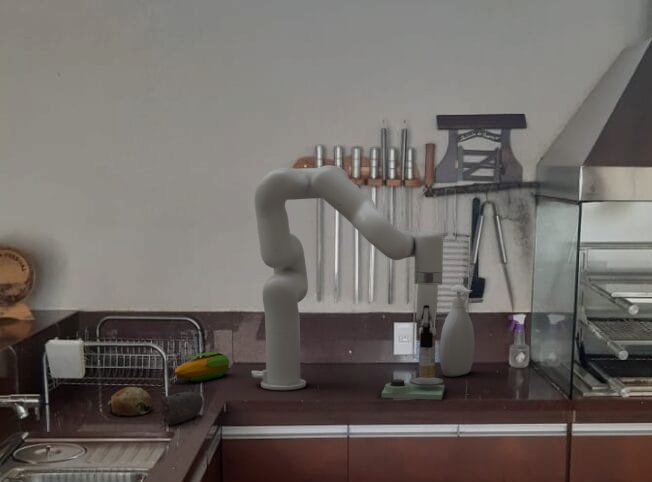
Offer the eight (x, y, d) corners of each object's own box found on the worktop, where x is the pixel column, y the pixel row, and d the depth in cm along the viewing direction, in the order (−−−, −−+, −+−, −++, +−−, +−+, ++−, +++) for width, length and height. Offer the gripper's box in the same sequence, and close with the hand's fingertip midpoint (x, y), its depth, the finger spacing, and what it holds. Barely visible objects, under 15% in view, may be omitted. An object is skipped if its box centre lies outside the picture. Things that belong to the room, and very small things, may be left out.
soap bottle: (453, 380, 261) (455, 288, 256) (432, 376, 267) (434, 285, 262) (484, 373, 272) (486, 284, 267) (463, 369, 277) (465, 282, 272)
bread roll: (129, 432, 216) (139, 404, 214) (96, 410, 219) (107, 382, 217) (154, 422, 226) (164, 395, 223) (123, 401, 228) (133, 375, 226)
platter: (408, 385, 241) (408, 383, 240) (412, 378, 249) (412, 376, 249) (442, 386, 240) (442, 384, 239) (444, 379, 248) (444, 377, 248)
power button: (390, 387, 239) (390, 381, 239) (391, 384, 243) (391, 379, 243) (403, 387, 239) (403, 382, 239) (405, 385, 242) (405, 379, 242)
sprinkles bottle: (427, 374, 247) (428, 325, 245) (438, 377, 244) (439, 328, 242) (414, 376, 244) (415, 327, 242) (425, 379, 241) (426, 329, 239)
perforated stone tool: (193, 412, 221) (193, 384, 220) (211, 414, 219) (210, 387, 218) (153, 426, 208) (152, 397, 207) (172, 429, 206) (171, 399, 205)
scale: (381, 398, 239) (381, 387, 238) (387, 388, 251) (387, 377, 250) (441, 400, 237) (441, 389, 236) (444, 390, 249) (444, 379, 248)
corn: (235, 349, 265) (183, 359, 248) (237, 374, 266) (185, 386, 249) (217, 348, 269) (165, 358, 253) (219, 373, 270) (167, 384, 254)
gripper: (417, 275, 248) (416, 340, 251) (411, 281, 232) (410, 350, 235) (444, 275, 247) (443, 341, 251) (440, 281, 231) (438, 351, 234)
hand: (427, 345), depth 243 cm, fingers closed on sprinkles bottle, 4 cm apart
